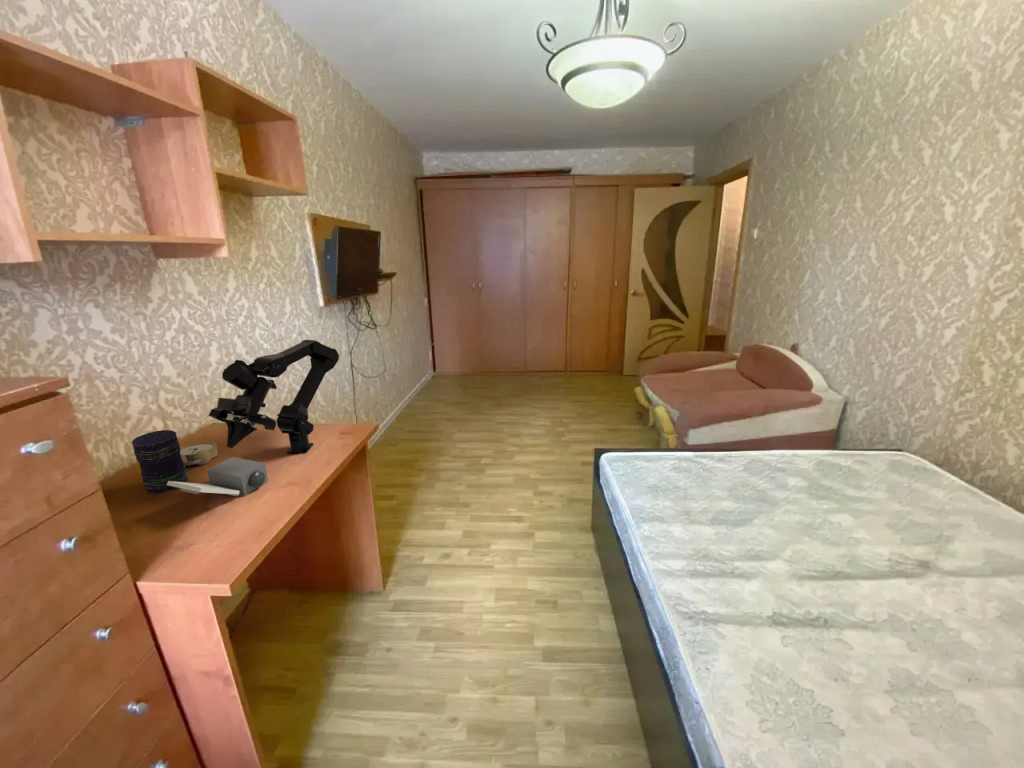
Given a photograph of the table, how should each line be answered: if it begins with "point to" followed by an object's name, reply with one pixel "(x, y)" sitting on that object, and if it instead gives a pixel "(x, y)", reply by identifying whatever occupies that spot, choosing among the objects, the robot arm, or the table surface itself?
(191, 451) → the alarm clock
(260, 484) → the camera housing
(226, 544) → the table surface
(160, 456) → the storage jar
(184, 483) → the door
